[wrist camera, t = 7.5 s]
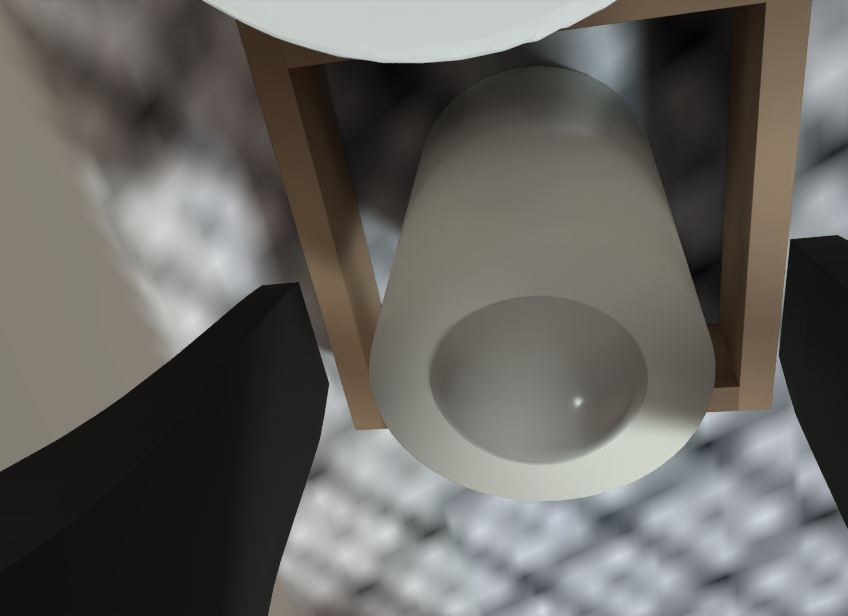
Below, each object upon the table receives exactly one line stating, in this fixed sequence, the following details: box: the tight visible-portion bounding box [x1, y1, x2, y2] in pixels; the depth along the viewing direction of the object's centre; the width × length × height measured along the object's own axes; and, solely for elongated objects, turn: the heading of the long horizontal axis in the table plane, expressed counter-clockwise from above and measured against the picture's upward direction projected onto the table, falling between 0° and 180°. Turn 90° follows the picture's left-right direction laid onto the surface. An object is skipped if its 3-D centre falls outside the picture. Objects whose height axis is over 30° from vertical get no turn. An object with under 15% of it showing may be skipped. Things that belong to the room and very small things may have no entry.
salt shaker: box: [369, 66, 715, 501], centre depth 12 cm, size 4×4×7 cm
